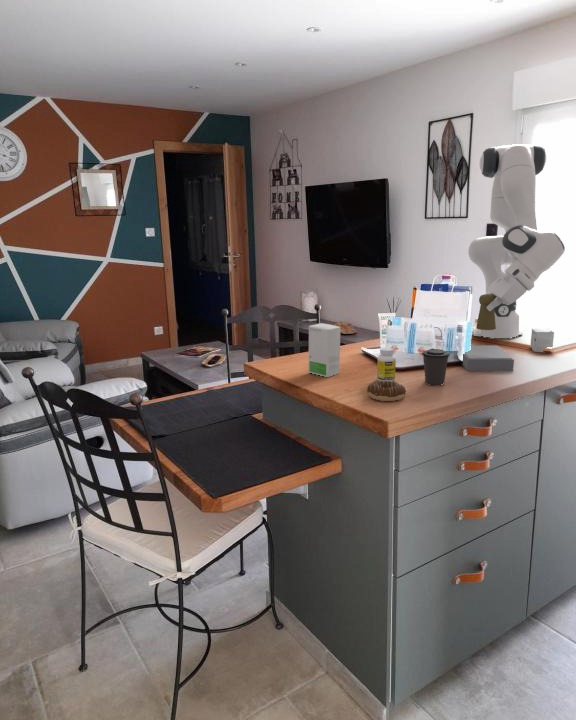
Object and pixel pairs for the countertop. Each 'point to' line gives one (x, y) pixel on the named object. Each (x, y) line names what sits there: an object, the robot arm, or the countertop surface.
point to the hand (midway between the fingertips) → (485, 307)
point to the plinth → (487, 359)
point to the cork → (486, 313)
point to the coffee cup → (435, 366)
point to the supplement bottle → (386, 365)
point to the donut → (386, 391)
